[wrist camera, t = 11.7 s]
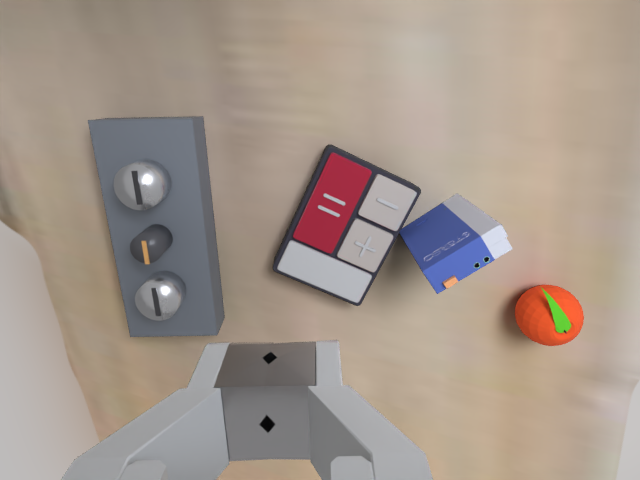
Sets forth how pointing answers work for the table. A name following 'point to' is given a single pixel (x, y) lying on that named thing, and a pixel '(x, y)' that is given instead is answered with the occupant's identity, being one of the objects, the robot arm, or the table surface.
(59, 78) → the table surface
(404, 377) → the table surface
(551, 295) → the clementine
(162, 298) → the knob
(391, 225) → the calculator
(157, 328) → the panel
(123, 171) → the knob
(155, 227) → the dial
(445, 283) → the walkman
